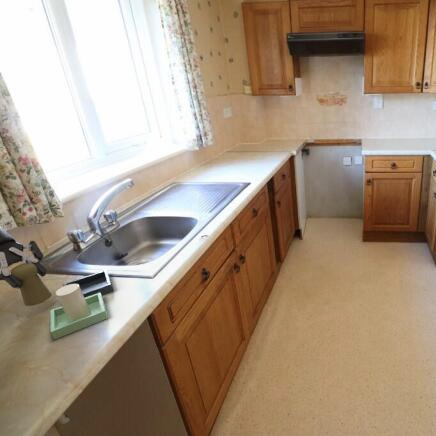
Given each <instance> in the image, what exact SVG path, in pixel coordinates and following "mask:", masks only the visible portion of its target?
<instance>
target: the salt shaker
mask: <svg viewBox="0 0 436 436" xmlns="http://www.w3.org/2000/svg"><path fill="white" fill-rule="evenodd" d="M55 296H56V298H57V300H58V302H59V304H60V307H61V306H62V308H63V310H64V312H65V314H66V316H67V318H68V320H69V322H74V321H76V320H79V319H81V318H84V317H87V316H89V315H90V314H91V311H90V308H89V306H88V304H87V302H86V300H85V297H84V295H83V293H82V291H81V288H80V286H79V285H78V284H69V285H66V286H64V287H63V286H62V287H60V288H59V289H57V290H56V291H55Z"/></svg>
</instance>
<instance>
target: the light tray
mask: <svg viewBox="0 0 436 436" xmlns="http://www.w3.org/2000/svg"><path fill="white" fill-rule="evenodd" d="M85 300H86V302H87V304H88V306H89V308H90V311H91V314H90V315H89V316H87V317H84V318H81V319H79V320H76V321H74V322H69V320H68V318H67V316H66V314H65V312H64V310H63V308H62V306H61V305H60V306H58V307H56V308H53V309H50V311H49V312H50V314H49V315H50V318H49V319H50V334H51V336H52V338H53V340H57V339H59V338H61V337H65V336H67V335H70V334H72V333H75V332H77V331H80V330H82V329H84V328H87V327H89V326H92V325H94V324H98V323H99V322H102V321H104V320H107V319H108V318H109V316H108V313H107V308H106V305H105V301H104V298H103V295H101V293H97V294H94V295H92V296H89V297H86V298H85Z"/></svg>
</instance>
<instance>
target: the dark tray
mask: <svg viewBox="0 0 436 436" xmlns="http://www.w3.org/2000/svg"><path fill="white" fill-rule="evenodd" d="M69 284H78V285H79V286H80V288H81V291H82V293H83V295H84V297H85V298H86V297H89V296H92V295H94V294H97V293H101V295H102V296H104V295H106V294H109V293H112V292H114V291H115V290H114V287H113V284H112V281H111V277H110V275H109V272H108V270H107V269H104V270H102V271H98V272H94V273H92V274H89V275H86V276H83V277H80V278H76V279H73V280H71V281H68V282H67V281H66V282H65V283H62V287H64V286H66V285H69Z"/></svg>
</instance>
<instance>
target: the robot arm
mask: <svg viewBox="0 0 436 436" xmlns="http://www.w3.org/2000/svg"><path fill="white" fill-rule="evenodd" d="M24 250H27V251H28V252H30V253H31V254H32V256H31V255H30V254H29V253H26V252H24ZM43 259H44V254H43V252H42V251H41V249H40V248H39V246H38V244H37V242H36V241H35V240H30V241H29V242H27V243H23V244H22V243H20V242H18V241H16V239H14V238H13V236H12V235H10V234H9V233H8V232H7V231H6V229H4V228H3V227H2V226H1V225H0V281H5V283H7V284H8V285H9V286H10V287H11V288H13V289H17V290H20V288H21V287H22V283H21V282H20V281H19V280H18V279H16V278H15V277H14V276H13V275H12V274H11V272H10V270H9V267H11V266H12V265H15V264H18V263H20V264H25V263H32V264H34V265H35V266H36V267H37V275H38V276H39V277H41V278H43V277H45V276H46V275H47V268H46V267H45V266H44V265H43V264H42V263H41V262H42V261H43Z"/></svg>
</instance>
